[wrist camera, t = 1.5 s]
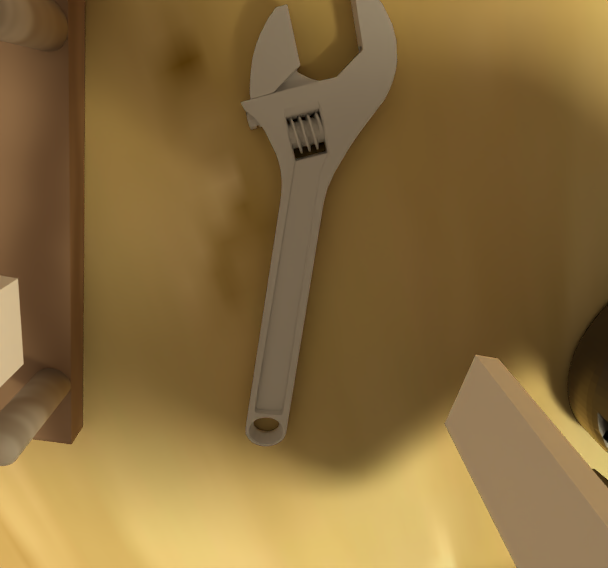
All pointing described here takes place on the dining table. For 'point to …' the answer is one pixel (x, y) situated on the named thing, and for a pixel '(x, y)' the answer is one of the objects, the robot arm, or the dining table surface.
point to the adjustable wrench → (305, 180)
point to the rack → (43, 216)
